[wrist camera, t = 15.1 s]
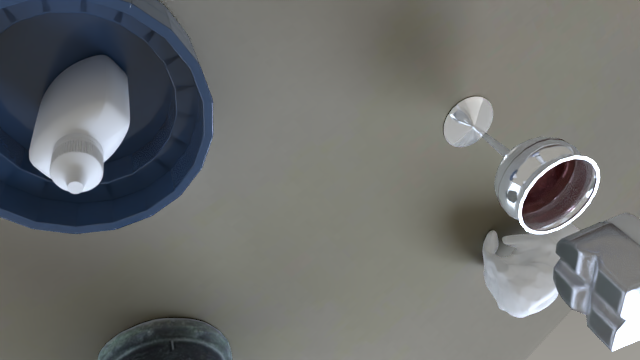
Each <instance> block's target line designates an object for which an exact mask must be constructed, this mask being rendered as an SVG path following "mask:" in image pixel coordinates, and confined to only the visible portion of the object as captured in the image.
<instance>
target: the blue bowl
mask: <svg viewBox="0 0 640 360" xmlns="http://www.w3.org/2000/svg"><path fill="white" fill-rule="evenodd" d="M96 55H106V56H108V57H110V58H111V59H112V60H113V61H114V62H115V63H116V64H117V65H118V66H119V67H120V68H121V69H122V70H123V71H124V72H125V74H126V75H127V78H128V92H129V107H130V125H129V128H128V131H127V133H126V135H125V137H124V139H123V141H122V142H121V144H120V145H119V147H118V148H117V149H116V151H115V152H114V153H113V154H112V155H111V156H110V157H109V158H108V159H107V160H106V161H105V162H104V170H103V177H102V180H101V181H100V183H99V184H98V185H96V187H94V188H92V189H90V190H88V191H85V192H81V193H79V194H72V193H70V192H69V191H66V190H63V189H61V188H60V187H59V186H57V185H56V184H55V183H54V182H53V180H52V179H51V178H49V177H47V176H46V175H44V174H43V173H42V172H40V171H39V170H38V169H37V168H36V167H34V166H33V165H32V163H31V162H30V160H29V149H30V144H31V140H32V136H33V131H34V127H35V123H36V119H37V115H38V111H39V107H40V103H41V101H42V98H43V96H44V94H45V92H46V90H47V89H48V87H49V86H50V84H51V83H52V82H53V81H54V80H55V78H56V77H57V76H58V75H59V74H61V73H62V72H63V71H64V70H65V69H67V68H68V67H70V66H71V65H73V64H75V63H77V62H79V61H81V60H84V59H86V58H89V57H92V56H96ZM212 138H213V99H212V96H211V93H210V91H209V88H208V85H207V83H206V80H205V77H204V75H203V72H202V69H201V67H200V64H199V62H198V59H197V56H196V54H195V51H194V49H193V46H192V43H191V41H190V38H189V36H188V34H187V33H186V32H185V31H184V29H183V28H182V27H181V25H180V24H179V23H178V22H177V20H176V19H175V18H174V17H173V15H172V14H171V13H170V12H169V10H168V9H167V8H166V7H165V6H164V5H163V4H162V3H161V2H159V1H158V0H0V217H1V218H4V219H6V220H9V221H12V222H15V223H17V224H20V225H23V226H26V227H28V228H31V229H36V230H44V231H53V232H61V233H70V234H75V233H76V234H81V233H90V232H99V231H108V230H115V229H118V228H121V227H124V226H127V225H129V224H132V223H135V222H137V221H140V220H143V219H145V218H148V217H151V216H153V215H154V214H155V213H157V212H158V211H160V210H161V209H162V208H164V207H165V206H167V205H168V204H170V203H171V202H172V201H174V200H175V199H177V198H178V197H179V196H180V195H182V193H183V192H184V191H185V189H186V188H187V187H188V186H189V184H190V183H191V182H192V180H193V179H194V178H195V177H196V175H197V174H198V173H199V171H200V170H201V169H202V167H203V164H204V161H205V159H206V156H207V153H208V150H209V147H210V144H211V141H212Z"/></svg>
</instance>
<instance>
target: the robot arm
mask: <svg viewBox="0 0 640 360" xmlns="http://www.w3.org/2000/svg"><path fill="white" fill-rule="evenodd" d="M555 253H556V254H557V255H558V256H559V257H560V259H559V261H558V262H557V263H556V265H555V266H554V270H553V280H554V283H555V286H556V289H557V291H558V293H559V294H560V296H561V297H562V299H563V300H564V301H565V303H566V304H567V305H568V306H569V307H570V308H571V309H572V310H575V311H577V312H580V313H583V314H585V315H586V318H587V326H588V327H589V328H590V329H591V330H592V331H593V332H594V334H595V335H596V336H597V337H598V338H599V339H600V340H601V341H602V342H603V343H604V344H605V345H606V346H607V347H608V348H609V349H610V350H611V351H614V350H617V349H619V348H621V347H624V346H626V345H629V344H631V343H633V342H636V341H638V340H640V219H639V218H637V217H636V216H634V215H632V214H629V213H623V214H620V215H617V216H615V217H613V218H610V219H608V220H606V221H604V222H599V223H597V224H594V225H592V226H590V227H587V228H585V229H583V230H580V231H578V232H576V233H573V234H571V235H569V236H566V237H564V238H562V239H560V240H559V242H558V243H557V245H556V252H555Z"/></svg>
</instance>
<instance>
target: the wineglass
mask: <svg viewBox="0 0 640 360" xmlns="http://www.w3.org/2000/svg"><path fill="white" fill-rule="evenodd" d="M492 120H493V109H492V105H491V104H490V102H489V101H488V100H487V99H485V98H483V97H476V96H474V97H470V98H466V99H465V100H463V101H461V102H459V103H458V104H457V105H456V106H455V107H454V108H453V109H452V110H451V111H450V113H449V114H448V116H447V118H446V121H445V123H444V136H445V139H446V140H447V141H448V143H449V144H451V145H453V146H455V147H465V146H469V145H471V144H473V143H475V142H477V141H478V140H479V139H480V138H481V137H482V138H483V139H484V140H486V141H487V142H488V143H489V144H490V145H491V146H492V147H493V148H494V149H495V150H496V151H497V152H498V153H500V154H501V155H502V156H503V159H502V160H501V162H500V164H499V167H498V169H497V172H496V176H495V182H494V189H495V193H496V196H497V199H498V202H499V203H500V205H501V206H502V208H503V209H504V210H505V211H506V212H507V214H508V215H509V216H511V217H513V218H514V219H517V220H519V221H520V224H521V225H522V226H523V228H524V229H525V230H526V231H528V232H531V233H534V234H547V233H550V232H553V231H556V230H559V229H560V228H562V227H564V226H566V225H567V224H569V223H571V222H572V221H573V220H574V219H575V218H576V217H578V216H579V215H580V214H581V213H582V212H583V211H584V209H585V208H586V207H587V206H588V205H589V203H590V202H591V200H592V198H593V197H594V195H595V193H596V191H597V188H598V184H599V180H600V176H599V168H598V166H597V165H596V163H595V161H593V160H592V159H590V158H588V157H586V156H582V155H581V154H580V152H579V151H578V150H577V149H576V147H575V146H573V145H571V144H569V143H568V142H566V141H564V140H562V139H558V138H553V137H537V138H533V139H529V140H527V141H525V142H522V143H520V144H518V145H517V146H515V147H513V148H512V149H511V150H509V149H508V148H506V147H505V146H504V145H502V144H501V143H500V142H498V141H497V140H495V139H494V138H493V137H491V136H490V135H488V134H487V133H486V132H487V130H488V129H489V127H490V125H491V122H492Z"/></svg>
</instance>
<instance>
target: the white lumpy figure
mask: <svg viewBox="0 0 640 360" xmlns="http://www.w3.org/2000/svg"><path fill="white" fill-rule="evenodd" d="M578 231H580V230H579V229H578V228H577V227H576V226H575V225H573V224H571V223H569V224H567V225H566V226H564V227H562V228H560V229H559V230H556V231H553V232H550V233H547V234H518V235H509V236H504V237H503V238H502V242H503V243H504V244H505V245H508V246H512V247H515V248H516V249H515V250H514V251H513V252H512V254H511V255H510V256H505V257H498V256H497V255H495V253H496V251H497V249H498V246H499V242H498V235H497V233H496V232H495V231H494V230H492V231H490V232H489V233H488V234H487V236H486V238H485V240H484V243H483V249H482V253H483V260H484V278H485V283H486V286H487V287H488V289H489V290H490V291H491V293H492V295H493V297H494V298H495V300H496V301H497V303H498V307H499V308H500V309H501V310H504V311H507V312H508V313H509V314H510V315H512V316H515V317H519V318H522V317H525V316H528V315H531V314H534V313H536V312H539V311H541V310H543V309H544V308H546V307H547V306H549V305H550V304H551V303H552V302H553V301H554V300H555V299H556V297H557V295H558V291H557V289H556V286H555V283H554V280H553V270H554V266H555V265H556V263H557V262H558V261H559V259H560V257H559V256H558V255H557V254H556V253H555V252H556V245H557V243H558V242H559V240H560V239H562V238H564V237H566V236H569V235H571V234H573V233H576V232H578Z"/></svg>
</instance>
